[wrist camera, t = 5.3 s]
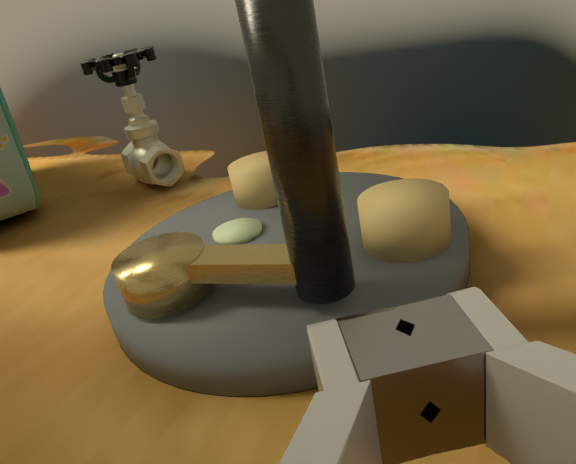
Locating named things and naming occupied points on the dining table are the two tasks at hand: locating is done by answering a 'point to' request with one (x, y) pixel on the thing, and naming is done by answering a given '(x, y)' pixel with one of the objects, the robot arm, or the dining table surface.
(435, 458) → the dining table surface
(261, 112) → the lever
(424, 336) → the robot arm
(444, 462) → the dining table surface
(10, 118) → the lunch box
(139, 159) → the valve
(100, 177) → the dining table surface
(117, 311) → the plate
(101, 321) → the dining table surface
